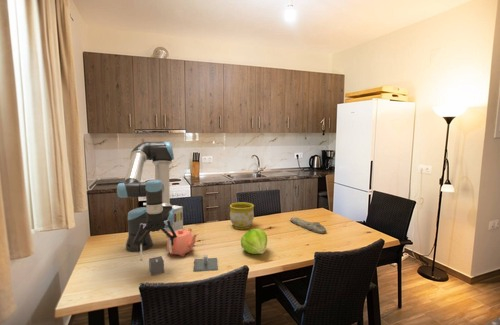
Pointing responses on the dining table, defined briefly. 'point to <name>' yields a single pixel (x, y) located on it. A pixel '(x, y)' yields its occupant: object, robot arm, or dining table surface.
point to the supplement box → (177, 218)
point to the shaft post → (205, 264)
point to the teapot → (182, 242)
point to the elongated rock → (309, 225)
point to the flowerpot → (241, 215)
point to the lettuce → (254, 241)
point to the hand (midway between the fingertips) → (156, 254)
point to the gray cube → (156, 265)
